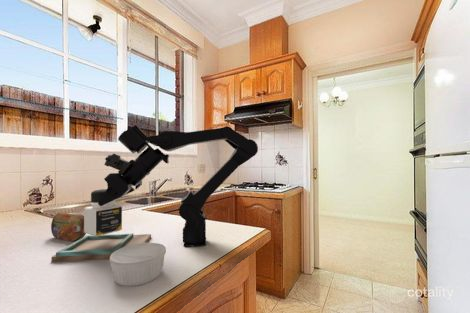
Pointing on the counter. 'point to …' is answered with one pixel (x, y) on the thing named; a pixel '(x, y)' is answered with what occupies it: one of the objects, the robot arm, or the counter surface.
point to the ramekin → (137, 263)
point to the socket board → (98, 246)
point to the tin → (68, 226)
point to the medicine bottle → (102, 216)
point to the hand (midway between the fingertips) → (103, 203)
